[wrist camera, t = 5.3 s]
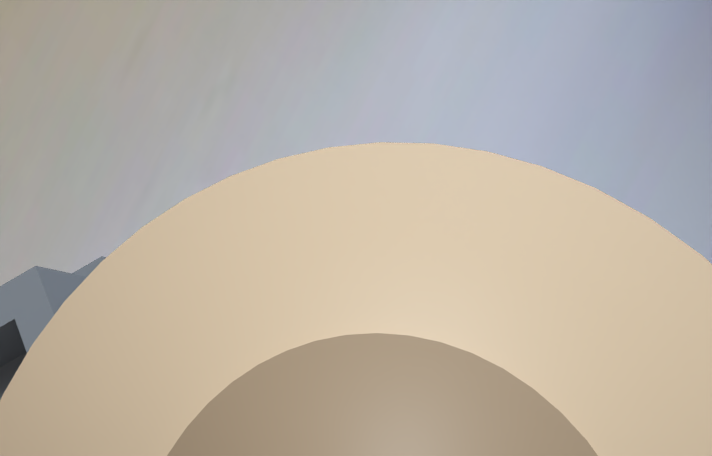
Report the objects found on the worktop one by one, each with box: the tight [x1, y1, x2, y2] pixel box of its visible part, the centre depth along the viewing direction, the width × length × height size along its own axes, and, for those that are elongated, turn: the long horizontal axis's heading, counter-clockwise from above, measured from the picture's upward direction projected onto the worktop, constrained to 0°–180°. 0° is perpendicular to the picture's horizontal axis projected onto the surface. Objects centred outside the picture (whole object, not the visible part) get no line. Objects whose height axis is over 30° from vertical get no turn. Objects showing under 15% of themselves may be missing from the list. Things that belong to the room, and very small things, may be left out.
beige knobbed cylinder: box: [0, 142, 712, 456], centre depth 9 cm, size 6×6×11 cm
